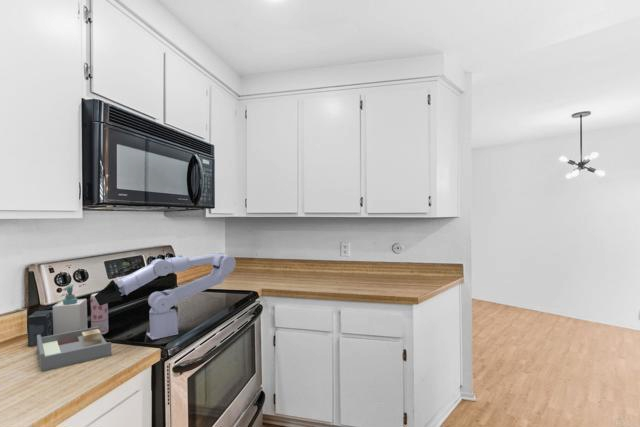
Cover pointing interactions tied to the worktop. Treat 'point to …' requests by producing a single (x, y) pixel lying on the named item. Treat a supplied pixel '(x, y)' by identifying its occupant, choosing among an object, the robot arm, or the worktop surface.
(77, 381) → the worktop surface
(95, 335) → the maple block
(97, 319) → the beverage can
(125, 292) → the robot arm
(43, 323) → the box
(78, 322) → the soap bottle
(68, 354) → the trap tray
